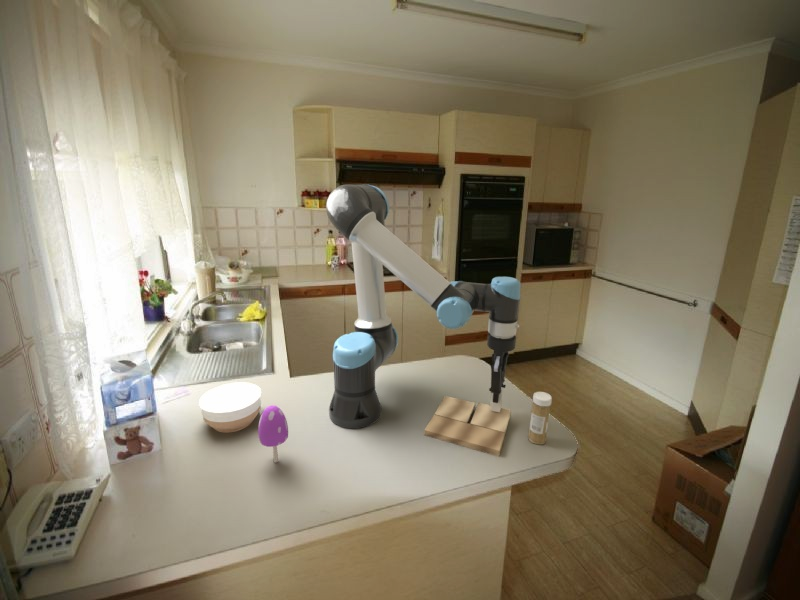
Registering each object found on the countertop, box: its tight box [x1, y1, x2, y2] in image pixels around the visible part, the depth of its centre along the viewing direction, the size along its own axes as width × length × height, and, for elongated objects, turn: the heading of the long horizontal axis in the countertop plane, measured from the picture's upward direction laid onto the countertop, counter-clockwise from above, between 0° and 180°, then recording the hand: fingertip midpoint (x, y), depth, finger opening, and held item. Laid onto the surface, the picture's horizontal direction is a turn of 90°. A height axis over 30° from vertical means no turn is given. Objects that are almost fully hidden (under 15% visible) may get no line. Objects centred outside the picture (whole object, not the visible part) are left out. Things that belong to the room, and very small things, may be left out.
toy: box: [257, 404, 289, 464], centre depth 92 cm, size 7×7×15 cm
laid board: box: [423, 414, 506, 457], centre depth 105 cm, size 20×10×2 cm, turn 66°
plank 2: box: [469, 402, 512, 434], centre depth 111 cm, size 10×10×1 cm
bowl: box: [198, 381, 262, 434], centre depth 109 cm, size 16×16×8 cm
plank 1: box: [433, 395, 476, 424], centre depth 115 cm, size 10×10×1 cm
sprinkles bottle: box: [527, 391, 553, 446], centre depth 102 cm, size 5×5×13 cm
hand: (495, 409), depth 113 cm, fingers closed
